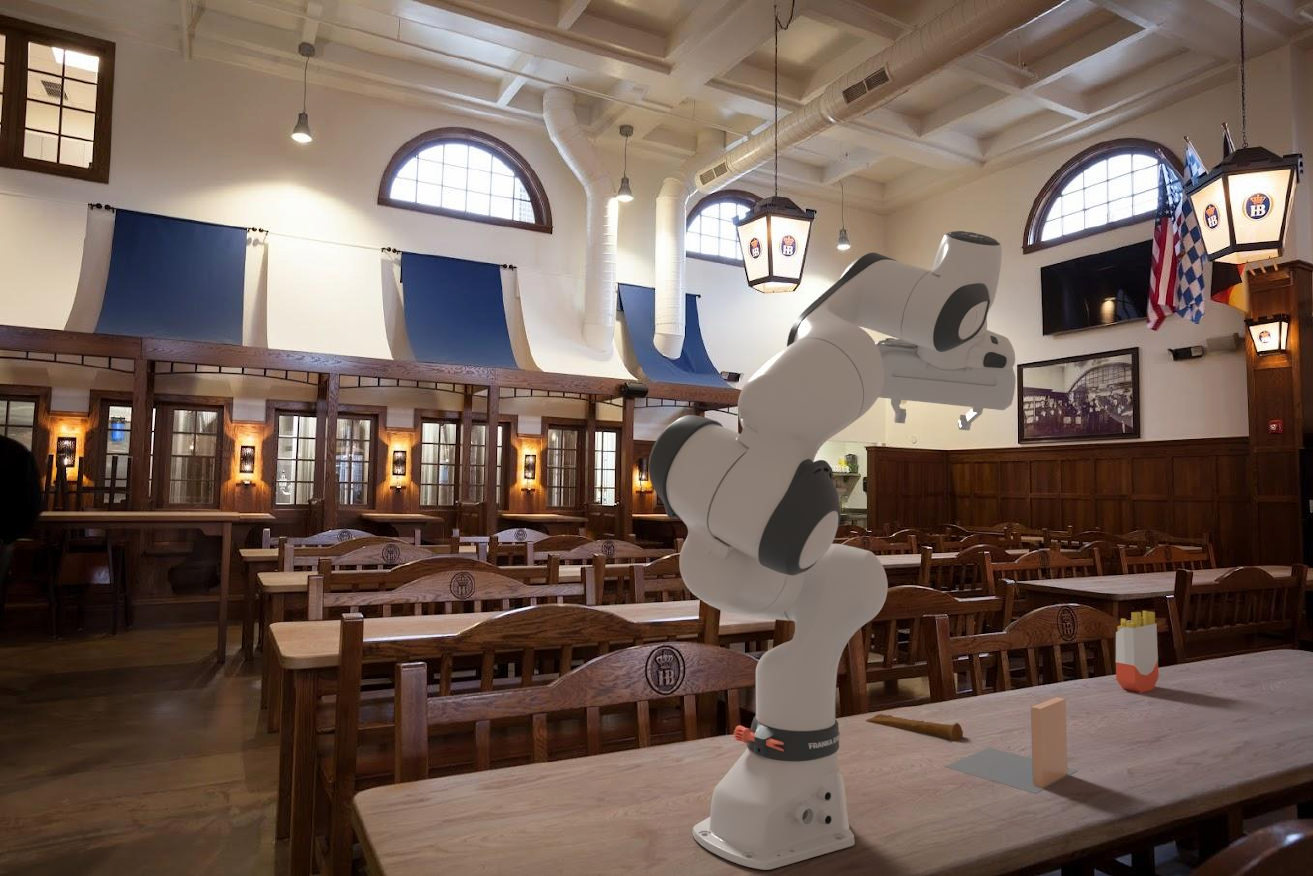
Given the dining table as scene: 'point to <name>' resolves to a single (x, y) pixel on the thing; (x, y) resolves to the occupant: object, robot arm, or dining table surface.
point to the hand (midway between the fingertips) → (931, 424)
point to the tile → (1049, 741)
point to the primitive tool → (920, 726)
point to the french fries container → (1137, 652)
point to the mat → (1002, 768)
